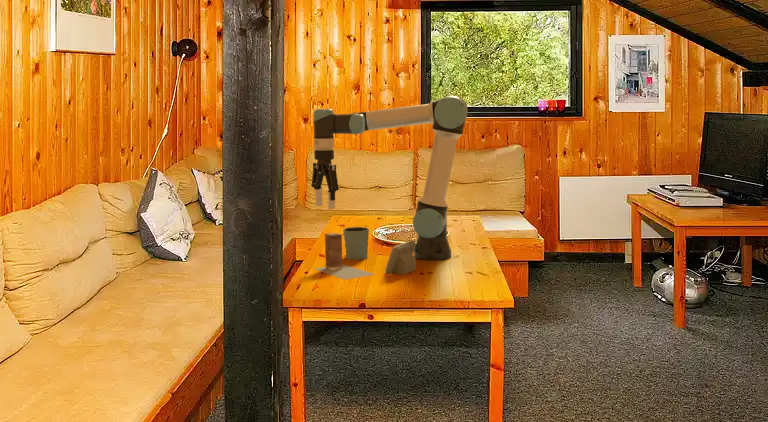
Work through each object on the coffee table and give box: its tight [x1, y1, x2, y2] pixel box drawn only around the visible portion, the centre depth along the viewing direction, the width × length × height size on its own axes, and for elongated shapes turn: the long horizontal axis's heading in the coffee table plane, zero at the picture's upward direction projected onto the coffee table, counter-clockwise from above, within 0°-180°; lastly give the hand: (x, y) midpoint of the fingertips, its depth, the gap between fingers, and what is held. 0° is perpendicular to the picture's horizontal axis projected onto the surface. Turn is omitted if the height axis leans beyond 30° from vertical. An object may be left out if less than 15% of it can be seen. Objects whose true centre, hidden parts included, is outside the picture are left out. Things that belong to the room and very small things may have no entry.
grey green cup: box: [342, 226, 370, 261], centre depth 323 cm, size 10×10×12 cm
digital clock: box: [384, 240, 417, 275], centre depth 300 cm, size 16×9×11 cm, turn 139°
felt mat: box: [314, 263, 376, 280], centre depth 299 cm, size 22×13×1 cm, turn 35°
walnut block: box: [324, 232, 343, 270], centre depth 304 cm, size 4×4×13 cm
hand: (325, 207), depth 316 cm, fingers open, 9 cm apart
